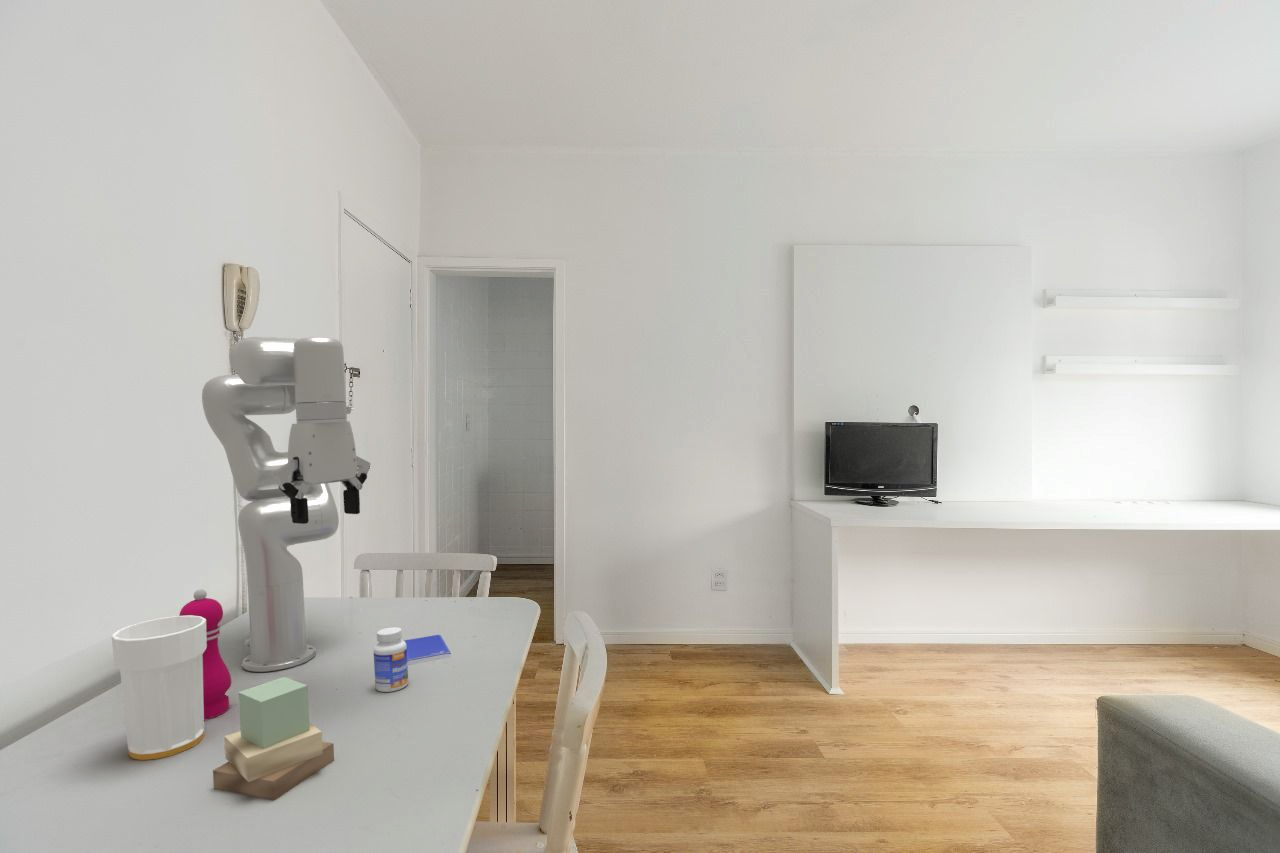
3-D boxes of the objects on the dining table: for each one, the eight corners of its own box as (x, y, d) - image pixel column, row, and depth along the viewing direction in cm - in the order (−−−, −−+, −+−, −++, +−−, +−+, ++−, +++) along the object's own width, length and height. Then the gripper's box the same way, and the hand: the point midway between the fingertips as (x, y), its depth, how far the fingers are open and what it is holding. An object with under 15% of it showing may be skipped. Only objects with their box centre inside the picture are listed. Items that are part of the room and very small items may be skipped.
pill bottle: (397, 693, 118) (395, 636, 117) (368, 692, 119) (366, 635, 118) (414, 680, 123) (411, 626, 123) (386, 679, 124) (384, 625, 124)
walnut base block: (214, 793, 90) (212, 770, 89) (277, 755, 99) (276, 734, 99) (274, 805, 86) (273, 781, 86) (334, 764, 96) (333, 743, 96)
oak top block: (225, 758, 92) (224, 736, 92) (296, 733, 99) (295, 712, 99) (248, 782, 86) (247, 758, 86) (322, 754, 93) (321, 731, 93)
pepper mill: (243, 705, 115) (236, 584, 115) (203, 724, 108) (195, 596, 108) (210, 700, 118) (203, 582, 117) (169, 719, 111) (161, 594, 110)
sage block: (240, 737, 92) (238, 692, 92) (286, 719, 97) (283, 676, 97) (263, 748, 88) (261, 702, 88) (309, 729, 93) (307, 685, 93)
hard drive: (451, 651, 134) (440, 633, 145) (406, 659, 131) (399, 640, 142) (451, 659, 134) (441, 641, 145) (406, 668, 131) (399, 648, 142)
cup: (141, 772, 94) (133, 644, 94) (104, 752, 100) (97, 632, 100) (227, 736, 104) (221, 620, 103) (189, 720, 110) (183, 611, 109)
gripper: (351, 413, 124) (355, 509, 124) (256, 416, 109) (262, 526, 109) (380, 411, 120) (385, 511, 121) (287, 415, 105) (293, 528, 105)
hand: (327, 518), depth 115 cm, fingers open, 9 cm apart
